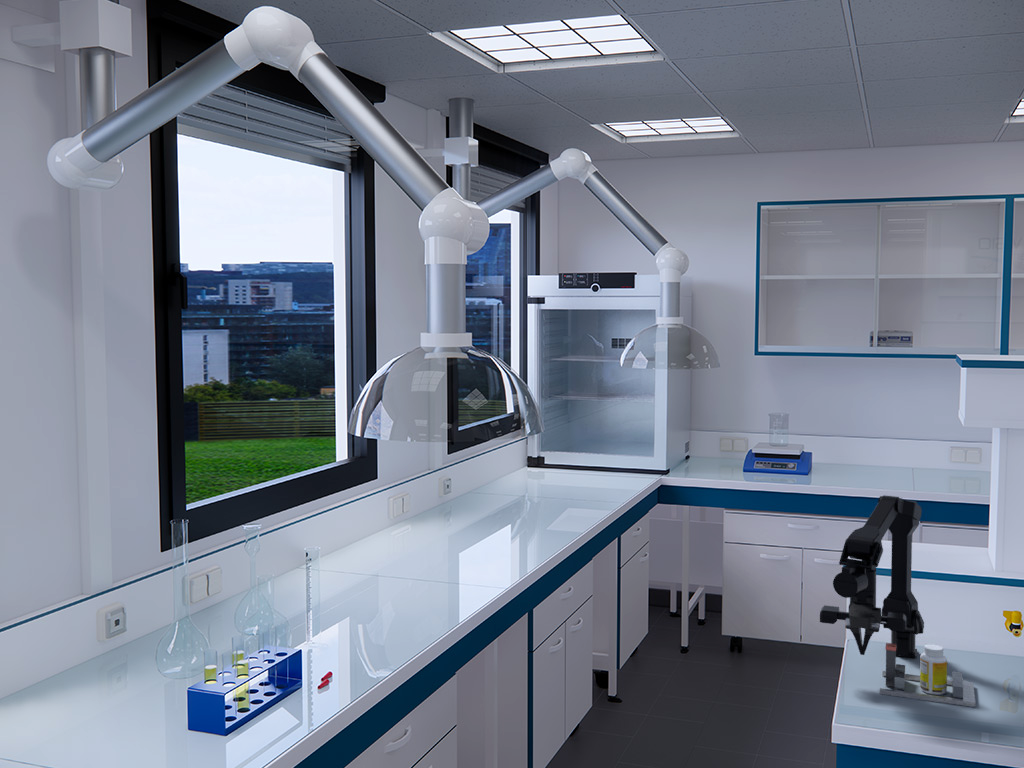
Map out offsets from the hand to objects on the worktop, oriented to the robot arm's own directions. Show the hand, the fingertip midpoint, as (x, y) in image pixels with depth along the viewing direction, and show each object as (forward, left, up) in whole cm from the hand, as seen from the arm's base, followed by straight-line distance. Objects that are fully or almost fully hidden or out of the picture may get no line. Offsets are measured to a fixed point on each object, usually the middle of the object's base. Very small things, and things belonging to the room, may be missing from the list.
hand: (862, 654), depth 218 cm
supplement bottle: (0, +15, -7) cm, 17 cm away
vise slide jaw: (0, +7, -6) cm, 10 cm away
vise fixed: (0, +14, -7) cm, 15 cm away
